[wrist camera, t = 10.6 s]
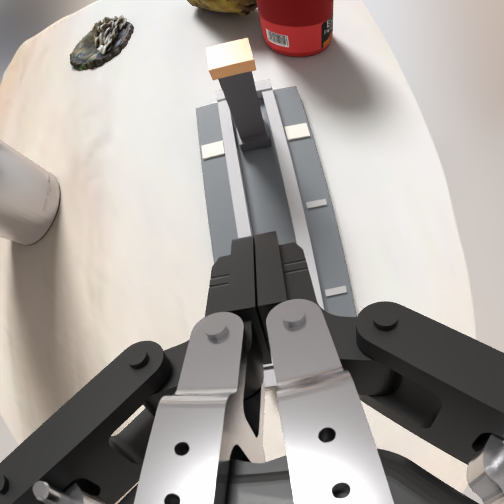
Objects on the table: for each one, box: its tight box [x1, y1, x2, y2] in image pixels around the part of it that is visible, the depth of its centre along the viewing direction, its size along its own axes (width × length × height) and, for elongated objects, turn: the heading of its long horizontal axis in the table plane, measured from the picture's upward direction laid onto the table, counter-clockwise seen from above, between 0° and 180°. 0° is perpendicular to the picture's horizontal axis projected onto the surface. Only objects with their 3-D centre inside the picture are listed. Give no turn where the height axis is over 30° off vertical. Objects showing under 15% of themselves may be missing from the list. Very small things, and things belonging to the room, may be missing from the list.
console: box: [196, 79, 357, 387], centre depth 26 cm, size 10×26×2 cm, turn 9°
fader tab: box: [206, 38, 271, 152], centre depth 22 cm, size 3×3×10 cm
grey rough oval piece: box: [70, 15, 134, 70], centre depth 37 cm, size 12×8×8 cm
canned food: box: [256, 0, 333, 57], centre depth 26 cm, size 8×8×11 cm
